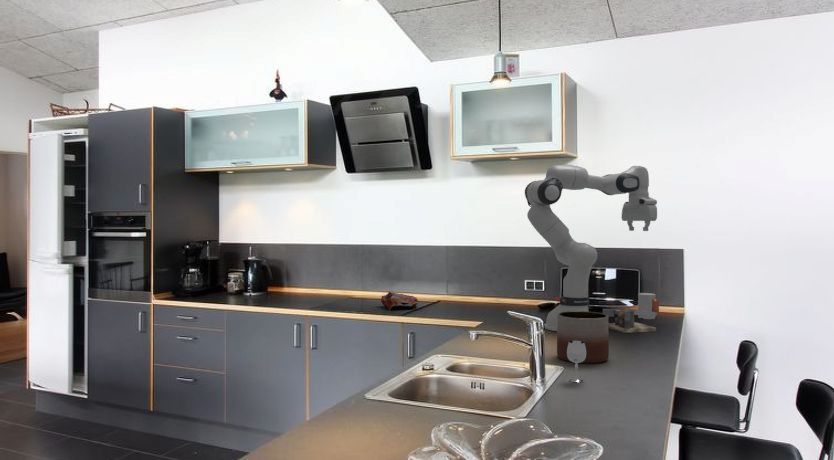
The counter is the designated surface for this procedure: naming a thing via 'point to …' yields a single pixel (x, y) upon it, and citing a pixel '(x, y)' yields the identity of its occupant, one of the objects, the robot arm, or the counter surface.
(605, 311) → the lever
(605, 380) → the counter surface
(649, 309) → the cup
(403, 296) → the meat
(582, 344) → the wineglass
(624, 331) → the press base
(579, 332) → the planter
